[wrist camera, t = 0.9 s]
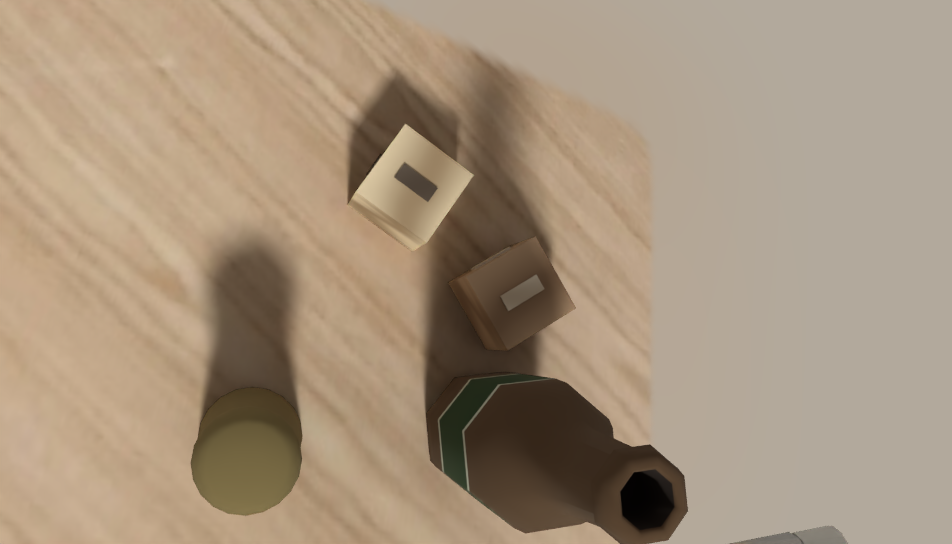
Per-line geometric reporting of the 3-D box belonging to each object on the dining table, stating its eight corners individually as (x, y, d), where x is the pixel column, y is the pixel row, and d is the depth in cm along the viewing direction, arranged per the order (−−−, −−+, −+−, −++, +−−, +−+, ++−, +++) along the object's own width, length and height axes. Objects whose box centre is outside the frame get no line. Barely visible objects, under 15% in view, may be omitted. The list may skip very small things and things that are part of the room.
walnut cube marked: (446, 280, 53) (465, 274, 48) (510, 243, 54) (535, 233, 49) (486, 349, 53) (508, 350, 48) (548, 310, 54) (577, 308, 49)
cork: (241, 367, 49) (234, 374, 39) (322, 425, 50) (337, 448, 40) (175, 451, 48) (149, 483, 37) (260, 509, 49) (258, 556, 38)
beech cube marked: (345, 203, 52) (353, 189, 47) (390, 142, 53) (403, 121, 48) (411, 251, 52) (427, 242, 48) (454, 189, 54) (474, 174, 49)
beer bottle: (504, 346, 53) (687, 352, 30) (558, 452, 54) (779, 537, 31) (399, 405, 51) (508, 460, 28) (456, 514, 52) (609, 656, 29)
